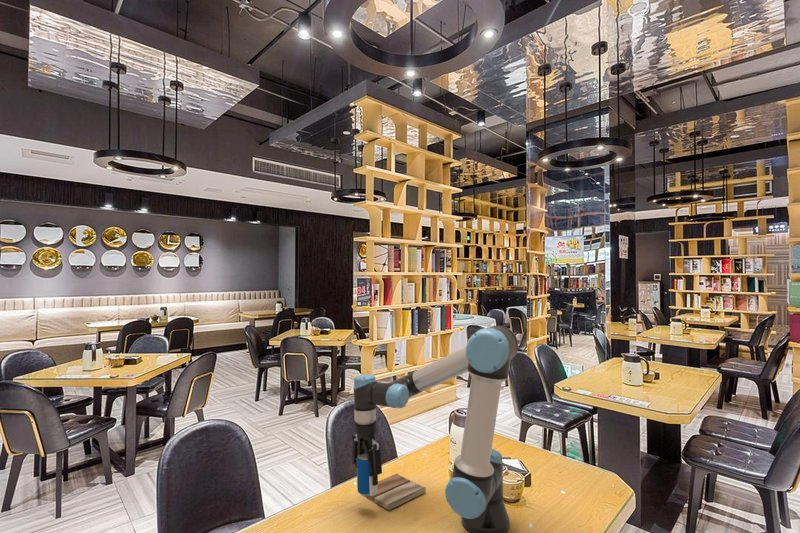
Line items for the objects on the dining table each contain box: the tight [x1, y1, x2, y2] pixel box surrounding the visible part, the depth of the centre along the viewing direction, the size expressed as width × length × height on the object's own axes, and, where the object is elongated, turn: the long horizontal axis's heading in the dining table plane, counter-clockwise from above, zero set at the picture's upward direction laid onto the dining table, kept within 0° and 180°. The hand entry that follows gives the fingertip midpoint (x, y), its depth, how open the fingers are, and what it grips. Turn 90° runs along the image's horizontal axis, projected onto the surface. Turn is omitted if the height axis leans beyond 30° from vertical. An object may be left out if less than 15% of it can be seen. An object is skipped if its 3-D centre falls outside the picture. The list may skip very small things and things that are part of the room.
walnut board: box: [364, 473, 411, 503], centre depth 148 cm, size 8×18×2 cm, turn 132°
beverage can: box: [356, 453, 371, 497], centre depth 133 cm, size 6×6×12 cm
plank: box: [374, 480, 427, 511], centre depth 142 cm, size 8×18×2 cm, turn 132°
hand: (367, 490), depth 133 cm, fingers closed on beverage can, 6 cm apart
